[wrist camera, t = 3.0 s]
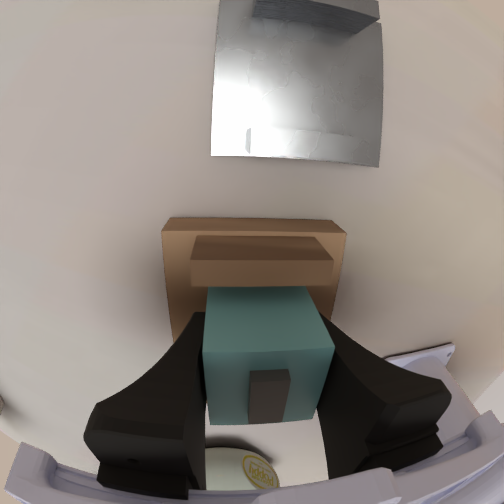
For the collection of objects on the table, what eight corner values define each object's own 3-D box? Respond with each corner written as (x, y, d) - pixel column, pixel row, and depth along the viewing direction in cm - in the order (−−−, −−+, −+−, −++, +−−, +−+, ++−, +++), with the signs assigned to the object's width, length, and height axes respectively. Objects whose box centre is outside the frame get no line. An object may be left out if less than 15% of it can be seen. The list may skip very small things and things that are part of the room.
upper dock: (311, 344, 17) (331, 397, 13) (181, 346, 16) (173, 403, 12) (331, 220, 14) (371, 254, 10) (170, 218, 13) (146, 254, 9)
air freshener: (283, 463, 24) (297, 540, 15) (219, 479, 25) (223, 549, 16) (226, 425, 20) (233, 534, 11) (154, 444, 21) (145, 533, 12)
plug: (289, 342, 14) (315, 428, 9) (212, 344, 14) (210, 435, 9) (299, 274, 13) (340, 357, 8) (209, 274, 12) (201, 363, 7)
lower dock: (373, 166, 13) (406, 175, 10) (211, 154, 12) (207, 159, 10) (376, 26, 10) (406, 9, 7) (220, 2, 9) (219, -29, 6)
